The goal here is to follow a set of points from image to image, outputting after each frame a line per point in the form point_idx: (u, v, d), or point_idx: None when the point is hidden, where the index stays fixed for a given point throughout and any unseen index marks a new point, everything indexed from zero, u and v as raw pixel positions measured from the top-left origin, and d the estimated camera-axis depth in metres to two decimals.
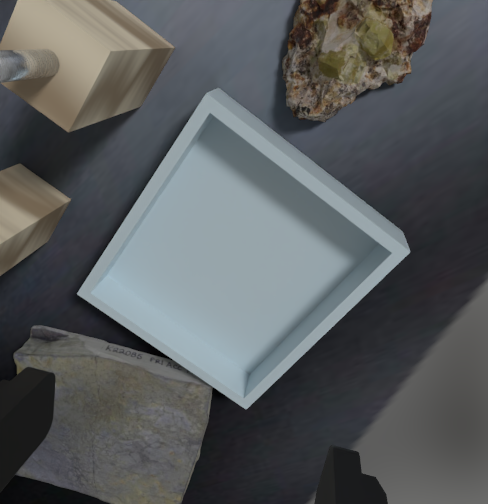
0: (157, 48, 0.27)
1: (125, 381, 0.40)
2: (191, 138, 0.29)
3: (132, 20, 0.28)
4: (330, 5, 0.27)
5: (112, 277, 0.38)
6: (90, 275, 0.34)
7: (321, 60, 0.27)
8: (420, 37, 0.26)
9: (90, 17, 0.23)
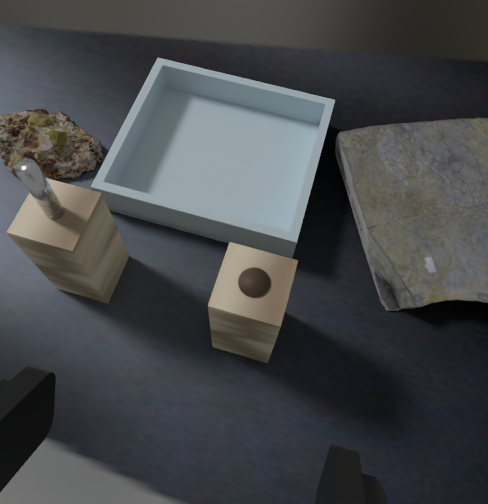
0: None
1: (378, 197, 0.42)
2: (124, 188, 0.40)
3: None
4: (28, 155, 0.43)
5: None
6: (271, 234, 0.38)
7: (56, 142, 0.42)
8: (38, 110, 0.46)
9: None
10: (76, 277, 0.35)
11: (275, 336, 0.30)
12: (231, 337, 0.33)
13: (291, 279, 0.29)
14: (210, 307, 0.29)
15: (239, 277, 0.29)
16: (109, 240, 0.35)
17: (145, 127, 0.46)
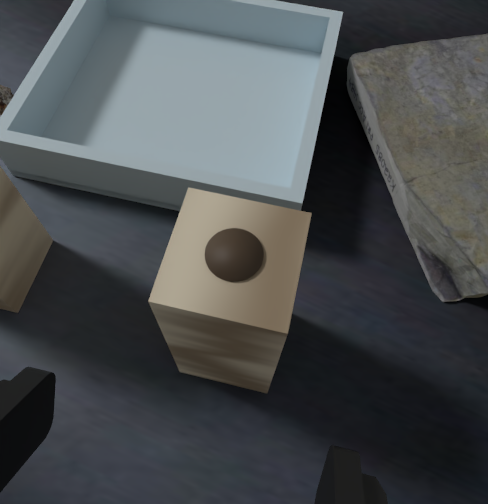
0: None
1: (415, 137, 0.28)
2: (39, 137, 0.26)
3: None
4: None
5: None
6: (262, 193, 0.25)
7: None
8: None
9: None
10: None
11: (278, 351, 0.17)
12: (204, 356, 0.20)
13: (302, 246, 0.16)
14: (153, 304, 0.15)
15: (207, 247, 0.16)
16: (1, 209, 0.22)
17: (79, 65, 0.33)
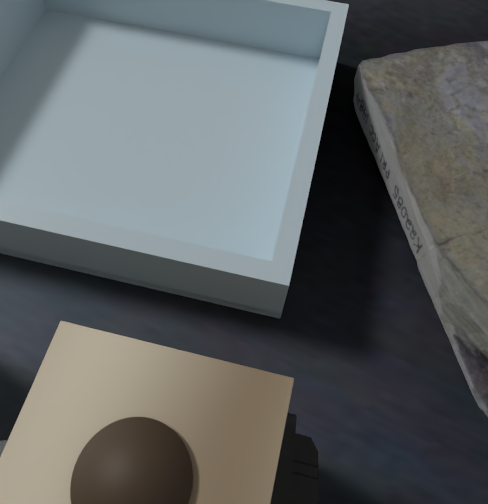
0: None
1: (450, 178, 0.20)
2: None
3: None
4: None
5: None
6: (229, 269, 0.17)
7: None
8: None
9: None
10: None
11: None
12: None
13: (272, 457, 0.08)
14: None
15: (79, 461, 0.08)
16: None
17: None
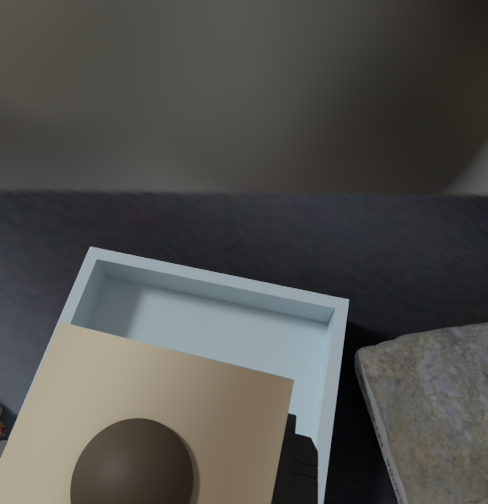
0: None
1: (428, 465, 0.27)
2: None
3: None
4: None
5: None
6: None
7: None
8: None
9: None
10: None
11: None
12: None
13: (273, 459, 0.08)
14: None
15: (79, 463, 0.08)
16: None
17: None
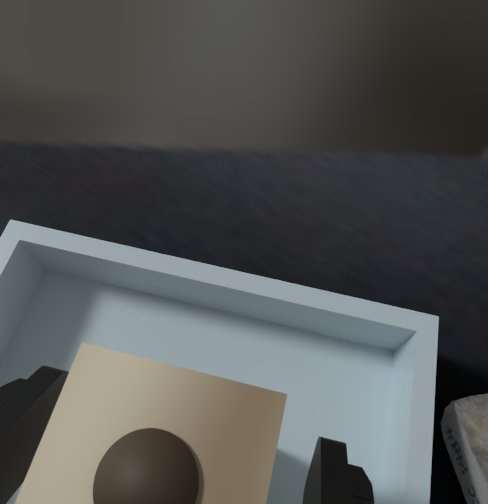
0: None
1: None
2: None
3: None
4: None
5: None
6: None
7: None
8: None
9: None
10: None
11: None
12: None
13: (268, 464, 0.09)
14: None
15: (100, 466, 0.09)
16: None
17: None
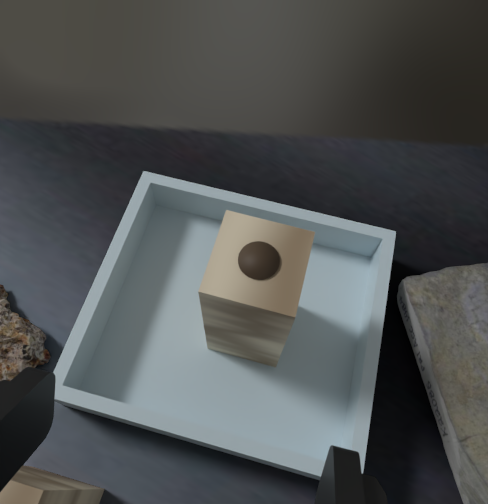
0: None
1: (469, 386, 0.28)
2: (94, 395, 0.26)
3: None
4: None
5: None
6: (320, 474, 0.25)
7: None
8: None
9: None
10: None
11: (287, 331, 0.23)
12: (230, 334, 0.26)
13: (307, 256, 0.23)
14: (201, 293, 0.22)
15: (239, 254, 0.22)
16: None
17: (127, 270, 0.33)
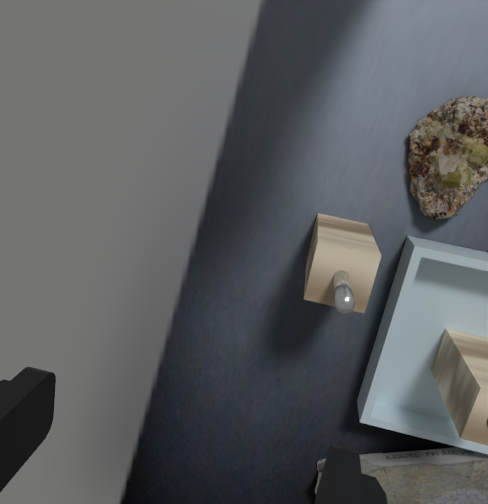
0: (371, 233, 0.39)
1: (415, 480, 0.47)
2: (413, 278, 0.40)
3: (339, 221, 0.41)
4: (434, 144, 0.39)
5: None
6: (366, 403, 0.44)
7: (444, 180, 0.38)
8: None
9: (344, 238, 0.36)
10: (309, 261, 0.40)
11: (452, 419, 0.38)
12: (453, 367, 0.40)
13: None
14: (479, 388, 0.34)
15: None
16: None
17: None
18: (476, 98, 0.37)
